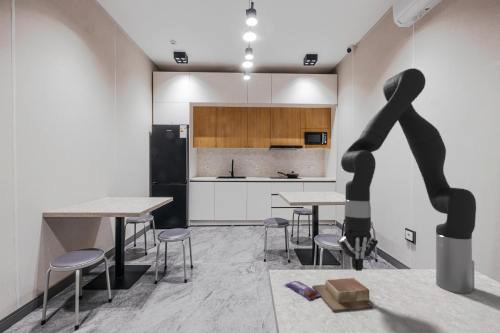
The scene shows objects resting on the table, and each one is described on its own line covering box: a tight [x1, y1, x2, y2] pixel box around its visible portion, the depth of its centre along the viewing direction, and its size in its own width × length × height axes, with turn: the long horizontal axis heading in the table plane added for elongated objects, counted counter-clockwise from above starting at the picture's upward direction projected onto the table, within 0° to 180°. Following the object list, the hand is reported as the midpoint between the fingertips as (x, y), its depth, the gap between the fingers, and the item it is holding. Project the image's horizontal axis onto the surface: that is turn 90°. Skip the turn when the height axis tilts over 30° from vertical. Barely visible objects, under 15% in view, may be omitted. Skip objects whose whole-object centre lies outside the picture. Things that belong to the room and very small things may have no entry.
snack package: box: [284, 280, 320, 301], centre depth 79 cm, size 12×2×5 cm
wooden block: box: [324, 277, 370, 303], centre depth 76 cm, size 3×8×10 cm
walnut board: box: [311, 284, 373, 313], centre depth 75 cm, size 12×14×1 cm
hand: (357, 269), depth 76 cm, fingers closed
